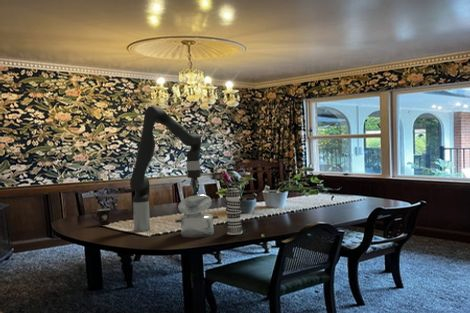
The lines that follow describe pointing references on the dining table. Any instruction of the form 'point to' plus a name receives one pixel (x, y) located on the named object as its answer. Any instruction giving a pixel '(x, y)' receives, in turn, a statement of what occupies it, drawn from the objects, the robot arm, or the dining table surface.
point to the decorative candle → (233, 211)
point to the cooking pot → (196, 225)
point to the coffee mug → (103, 216)
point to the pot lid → (194, 204)
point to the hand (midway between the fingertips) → (195, 199)
